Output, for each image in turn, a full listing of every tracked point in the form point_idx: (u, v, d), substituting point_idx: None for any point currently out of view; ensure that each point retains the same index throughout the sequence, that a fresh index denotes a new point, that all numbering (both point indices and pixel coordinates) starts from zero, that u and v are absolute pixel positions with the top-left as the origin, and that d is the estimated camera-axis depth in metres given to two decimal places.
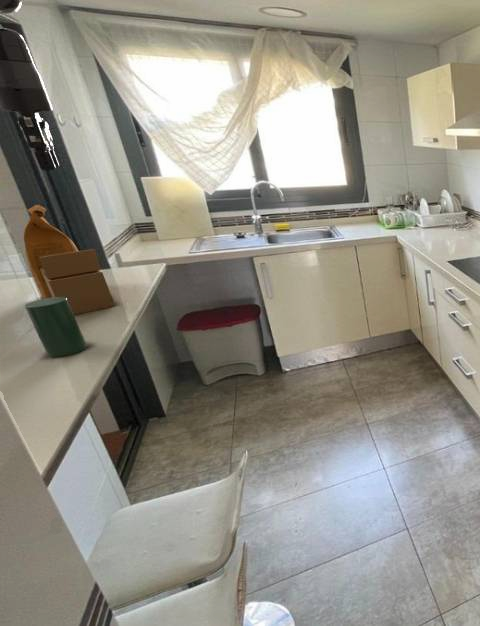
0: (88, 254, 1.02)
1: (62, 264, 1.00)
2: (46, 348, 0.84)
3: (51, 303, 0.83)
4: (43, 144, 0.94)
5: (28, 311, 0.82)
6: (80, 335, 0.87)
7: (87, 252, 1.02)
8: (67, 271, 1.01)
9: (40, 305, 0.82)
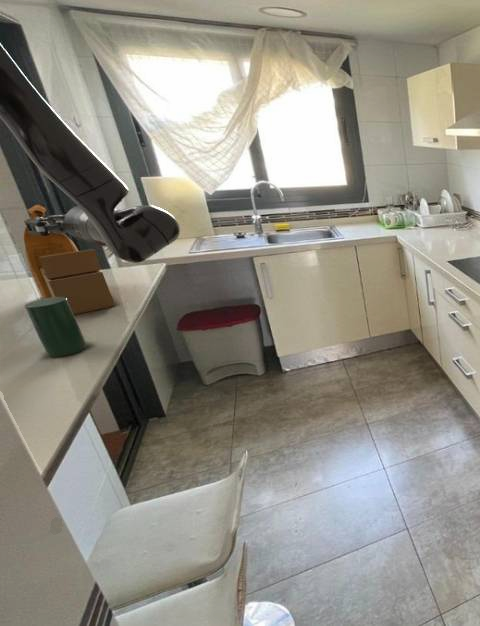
0: (88, 254, 1.02)
1: (62, 264, 1.00)
2: (46, 348, 0.84)
3: (51, 303, 0.83)
4: (29, 231, 0.87)
5: (28, 311, 0.82)
6: (80, 335, 0.87)
7: (87, 252, 1.02)
8: (67, 271, 1.01)
9: (40, 305, 0.82)
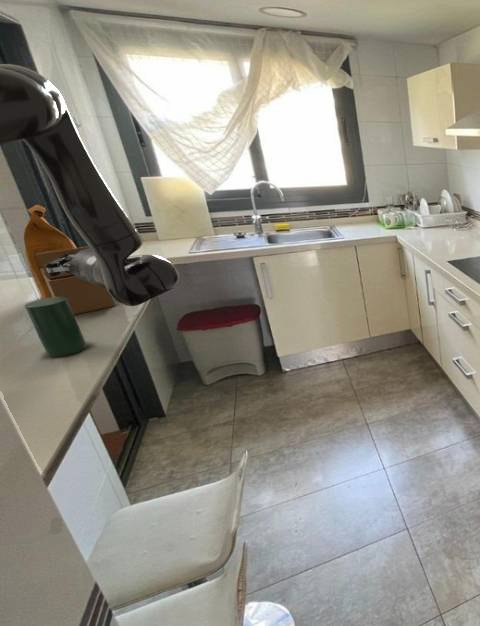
0: None
1: None
2: (46, 348, 0.84)
3: (51, 303, 0.83)
4: None
5: (28, 311, 0.82)
6: (80, 335, 0.87)
7: (85, 248, 1.03)
8: None
9: (40, 305, 0.82)
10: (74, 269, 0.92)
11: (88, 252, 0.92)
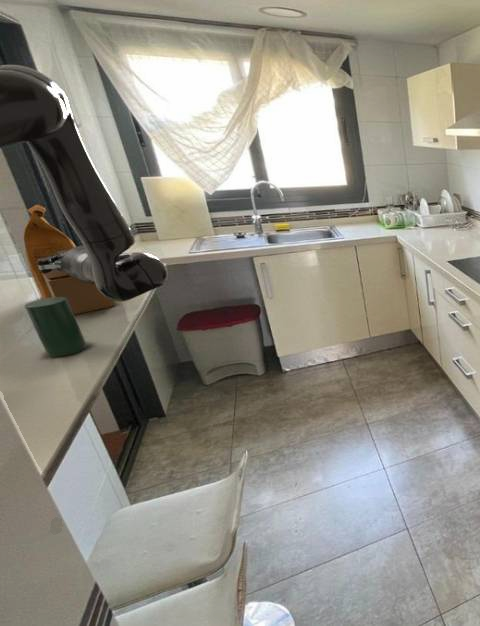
0: None
1: None
2: (46, 348, 0.84)
3: (51, 303, 0.83)
4: None
5: (28, 311, 0.82)
6: (80, 335, 0.87)
7: None
8: None
9: (40, 305, 0.82)
10: (65, 266, 0.93)
11: (79, 250, 0.94)
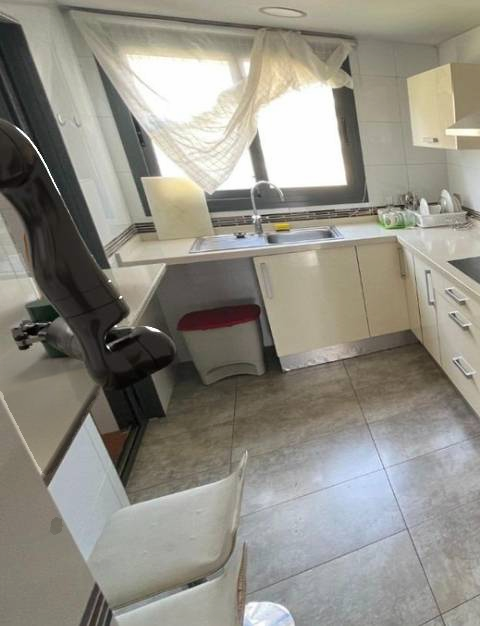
0: None
1: None
2: (46, 348, 0.84)
3: None
4: None
5: (28, 311, 0.82)
6: None
7: None
8: None
9: (40, 305, 0.82)
10: (51, 340, 0.77)
11: None
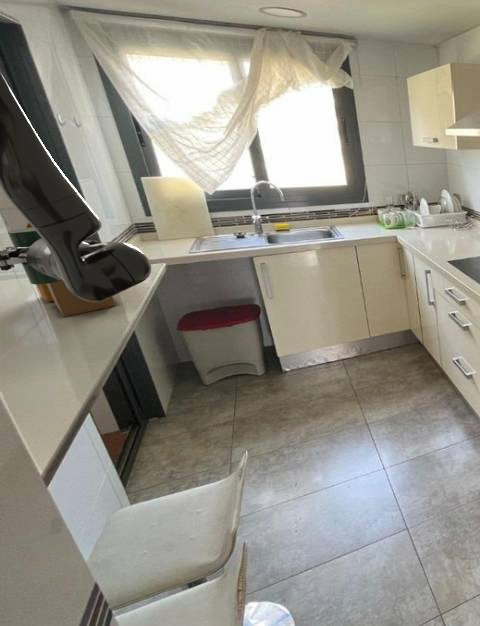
0: None
1: None
2: (29, 275, 0.87)
3: (33, 230, 0.85)
4: None
5: (11, 237, 0.84)
6: None
7: None
8: None
9: (23, 231, 0.84)
10: (31, 260, 0.79)
11: None
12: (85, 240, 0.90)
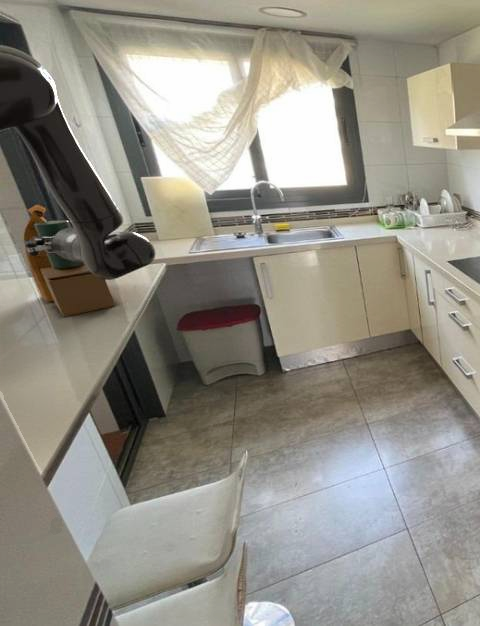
0: None
1: (63, 270, 1.04)
2: (51, 260, 1.03)
3: (55, 223, 1.02)
4: (27, 250, 0.98)
5: (37, 228, 1.00)
6: None
7: None
8: (67, 273, 1.03)
9: (46, 224, 1.01)
10: (55, 247, 0.95)
11: (68, 230, 0.96)
12: None
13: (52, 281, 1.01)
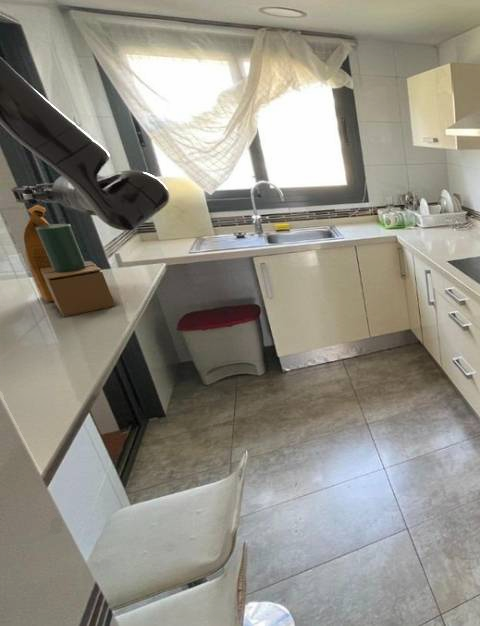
0: (89, 267, 1.08)
1: (64, 272, 1.04)
2: (53, 264, 1.03)
3: (57, 227, 1.02)
4: (16, 200, 0.85)
5: (38, 232, 1.00)
6: (81, 256, 1.06)
7: None
8: (67, 273, 1.03)
9: (48, 228, 1.01)
10: (56, 193, 0.83)
11: None
12: None
13: (52, 281, 1.01)
